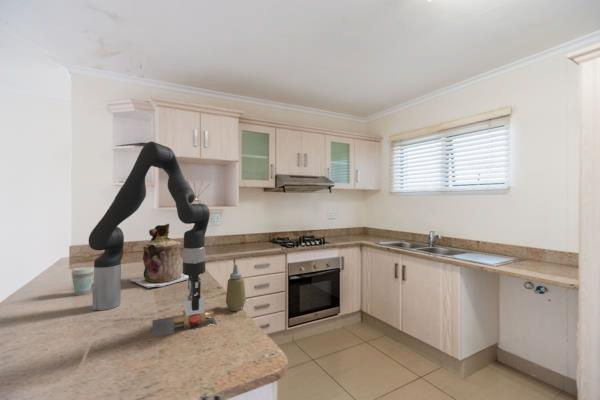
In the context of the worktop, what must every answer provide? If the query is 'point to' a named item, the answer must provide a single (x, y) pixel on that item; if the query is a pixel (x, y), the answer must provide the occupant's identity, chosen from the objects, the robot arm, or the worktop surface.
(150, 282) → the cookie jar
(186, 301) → the steel fitting
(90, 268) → the coffee cup
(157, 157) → the robot arm
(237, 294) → the squeeze bottle
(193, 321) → the valve station
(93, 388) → the worktop surface
